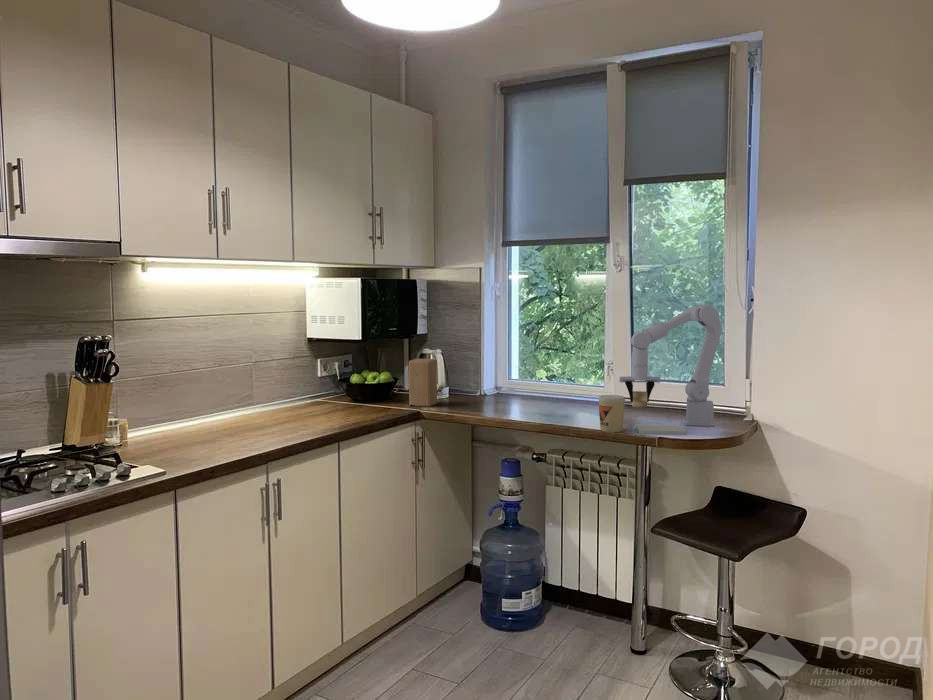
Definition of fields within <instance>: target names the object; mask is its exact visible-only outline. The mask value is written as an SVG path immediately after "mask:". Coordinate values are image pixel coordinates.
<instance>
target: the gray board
mask: <svg viewBox="0 0 933 700" xmlns="http://www.w3.org/2000/svg"><path fill="white" fill-rule="evenodd" d="M634 427H636V428H635V429H636V431H637V432H639V433H638V434H639V435H676V434H688V431H687V429H686V428H684V427H683V426H682V425H681V424H661V423H659V424H658V423H656V424H655V423H652V424H651V423H649V424H648V423H635V425H634Z"/></svg>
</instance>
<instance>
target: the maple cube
mask: <svg viewBox="0 0 933 700" xmlns="http://www.w3.org/2000/svg"><path fill="white" fill-rule="evenodd" d="M631 406H632V407H634V408H637V407H638V408H647V407H648V402H647V392H646V391H640V390H639V391H638V390H637V391H635V390H633V402H631Z"/></svg>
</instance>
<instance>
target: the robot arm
mask: <svg viewBox="0 0 933 700" xmlns="http://www.w3.org/2000/svg"><path fill="white" fill-rule="evenodd" d="M687 322H697V323H698V324H700V325H701V326H702V328H703V329H704V330H705V335H704V339H703V342H702V346H701V349H700V352H699V356H698V359H697V363H696V365H695V369H694V372H693V374H692V375H691V377H690V379H689V382H687V384H686V385H685V393H686V395H687V397H686V415H685V416H686V418H685V420H683V423H684V424H685V425H686V426H691V427H692V426H698V427H699V426H700V427H701V426H702V427H705V426H706V427H707V426H708V427H714V426H715V425H714V414H715V413H714V411H715V410H714V408H715V406H714V405H715V404H714V401H713V400H708V397H709V396H710V389H709V387H710V386H709V385H710V377H709V376H710V372H711V370H712V366H713V363H714V360H715V356H716V353H717V349H718V346H719V342H720V339H721V336H722V332H723V328H722V325H721V324H722V323H721V320H720V313H719V311H718V310H717V309H716V308H715V307H714V306H712V305H710V304H706V305H705V304H697V305H696V306H695V307H694V306H693V307H690V308H688V309H686V310H684V311H683V312H681V313H679V314H678V315H676V316H674V317H673V318H671V319H669V320H667V321H665V322H661V321H659V322H656V321H654V322H653V323H652V325H650V326H648V327H647V328H641V330H640V331H641V332H635V333H633V335H632V336H631V338H630V344H631V345H632V352H631V375H630V376H619V380H618V381H619V383H624V384H625V387H626V388H627V391H628V395H629V399H630V400H629V401H630V402H631V403H632V402H633V391H634V384H633V383H645V388H646V392H647V403H649V402H650V397H651V393H652V391H653V389H654V388H655V383H657V384H660V383H661V377H660V376H649V374H648V373H649V371H648V370H649V346H651V345H650V344H653V343H655V342H657V341H659V340H660V339H663V338H664V337H666V336H667V335H668V334H669V331H671V330H673V329H676V328H677V327H679V326H681V325H683V324H685V323H687Z"/></svg>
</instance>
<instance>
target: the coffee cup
mask: <svg viewBox="0 0 933 700" xmlns="http://www.w3.org/2000/svg"><path fill="white" fill-rule="evenodd" d="M598 397H599V398H597V399H598V411H599V428H600V431H601V430H602V432H605V433H620V431H621V432H622V431H623V428H624V427H623V426H624V415H625V407H626V403H625V402H626V398H625V396H624V395H620V394H619V395H617V394H603V395H599V396H598Z"/></svg>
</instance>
